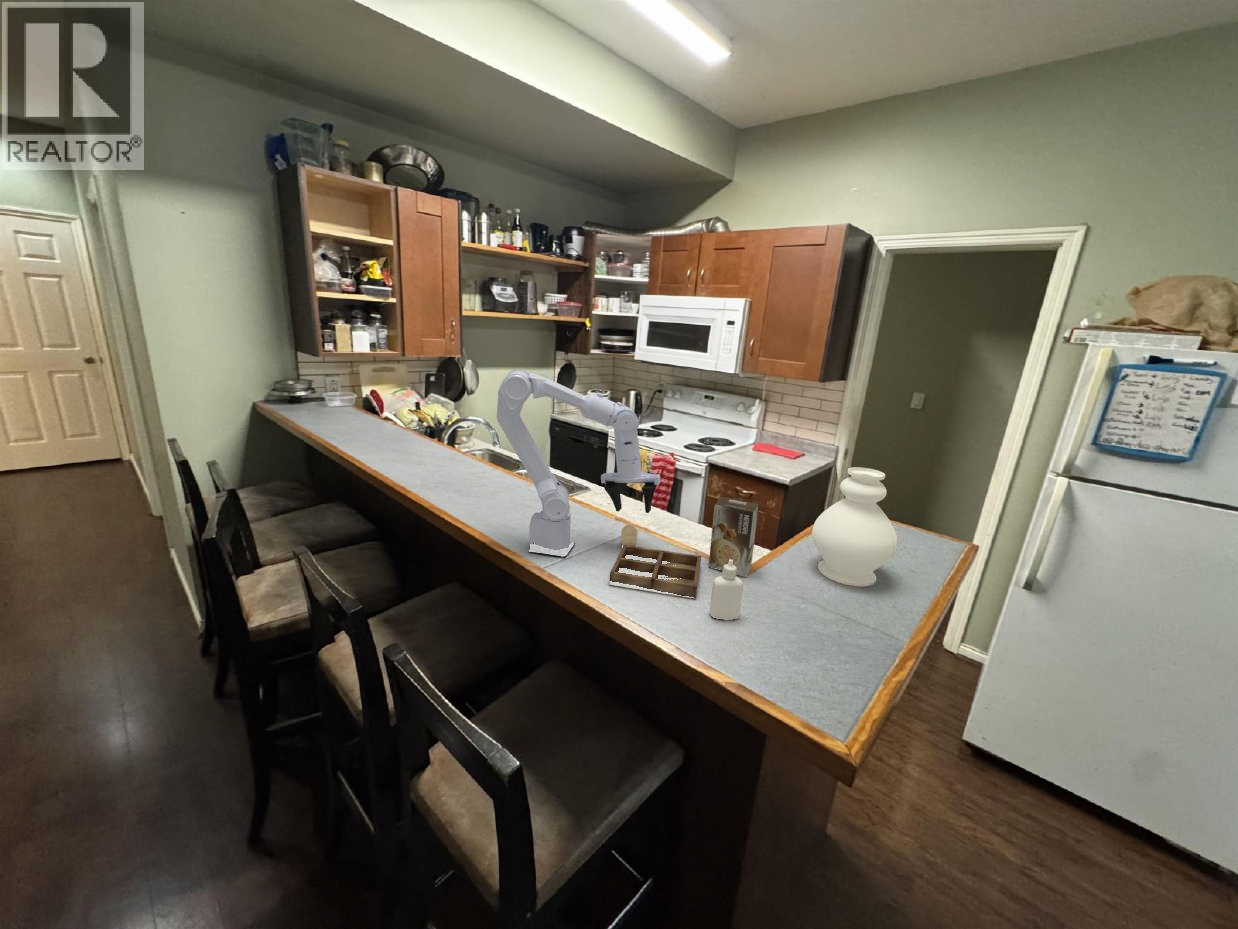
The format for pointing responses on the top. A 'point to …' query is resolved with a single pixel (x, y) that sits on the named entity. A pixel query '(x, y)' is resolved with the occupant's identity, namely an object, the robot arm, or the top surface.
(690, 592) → the crate
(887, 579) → the top surface
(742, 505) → the coffee box
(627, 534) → the cylinder
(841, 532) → the decorative vase
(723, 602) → the eye dropper bottle
